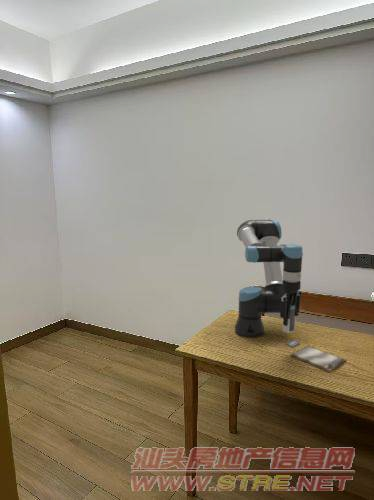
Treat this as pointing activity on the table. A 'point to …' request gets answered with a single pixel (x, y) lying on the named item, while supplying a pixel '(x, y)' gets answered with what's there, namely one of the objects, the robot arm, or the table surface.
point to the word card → (292, 343)
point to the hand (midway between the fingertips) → (289, 330)
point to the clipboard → (318, 358)
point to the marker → (291, 318)
